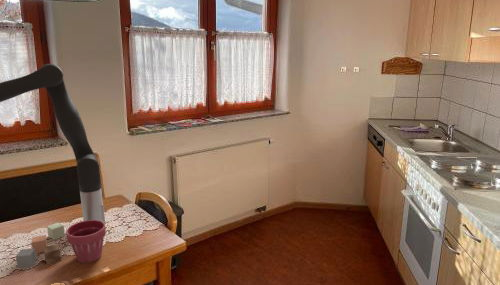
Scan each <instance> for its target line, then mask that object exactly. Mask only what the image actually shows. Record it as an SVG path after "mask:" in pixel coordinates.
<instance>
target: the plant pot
mask: <svg viewBox="0 0 500 285" xmlns="http://www.w3.org/2000/svg"><path fill="white" fill-rule="evenodd" d="M106 229H107V228H106V223H105V224H104V223H103V222H102V221H99V220H86V221H83V220H82V221H79V222H76V223H74V224H72V225H70V226H69V227H67V229H66V231H65V236H66V241H67V243H68V244H70V246H71V249H72V251H73V254H74V256H75V258H76V261H77V262H79V263H83V264H87V263H88V264H89V263H92V262H95V261H97V260H98V259H100V258H101V256H102V252H103V246H104V239H105V238H104V237H106V234H107V230H106Z"/></svg>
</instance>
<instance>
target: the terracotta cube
mask: <svg viewBox="0 0 500 285" xmlns="http://www.w3.org/2000/svg"><path fill="white" fill-rule="evenodd" d="M30 244H31V249H34V248H35V252H36V254H39V253H44V247H48V241H47V236H46V234H43V235H36V236H32V237H31V243H30Z"/></svg>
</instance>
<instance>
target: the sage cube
mask: <svg viewBox="0 0 500 285" xmlns="http://www.w3.org/2000/svg"><path fill="white" fill-rule="evenodd" d="M46 229H47V236H48V237H49V238H50V239H51V240H53V241H55V240H57V239H60V238H63V237H65V236H66V231H65V226H64V224H62V223H60V222H55V223H52V224H50V225H46Z"/></svg>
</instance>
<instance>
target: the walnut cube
mask: <svg viewBox="0 0 500 285" xmlns="http://www.w3.org/2000/svg"><path fill="white" fill-rule="evenodd" d="M43 254H44V260H45V263H46V265H50V264H54V263H57V262H61V261H62V256H61V248H60V247H59V244H58V243H56V244H52V245H47V247H44V252H43Z"/></svg>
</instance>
